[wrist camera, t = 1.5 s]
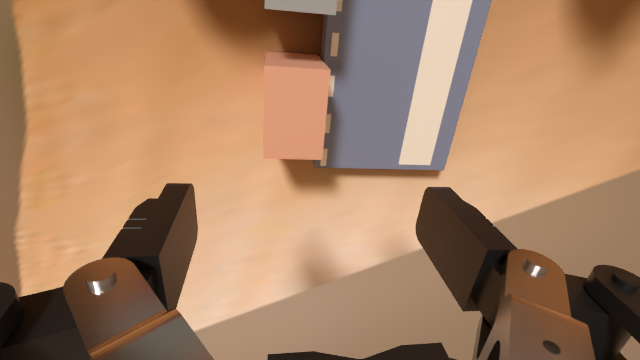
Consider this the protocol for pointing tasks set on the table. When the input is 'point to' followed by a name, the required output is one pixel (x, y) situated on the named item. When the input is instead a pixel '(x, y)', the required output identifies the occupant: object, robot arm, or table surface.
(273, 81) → the stub terracotta
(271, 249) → the table surface
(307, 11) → the stub grey
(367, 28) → the ticket slab
